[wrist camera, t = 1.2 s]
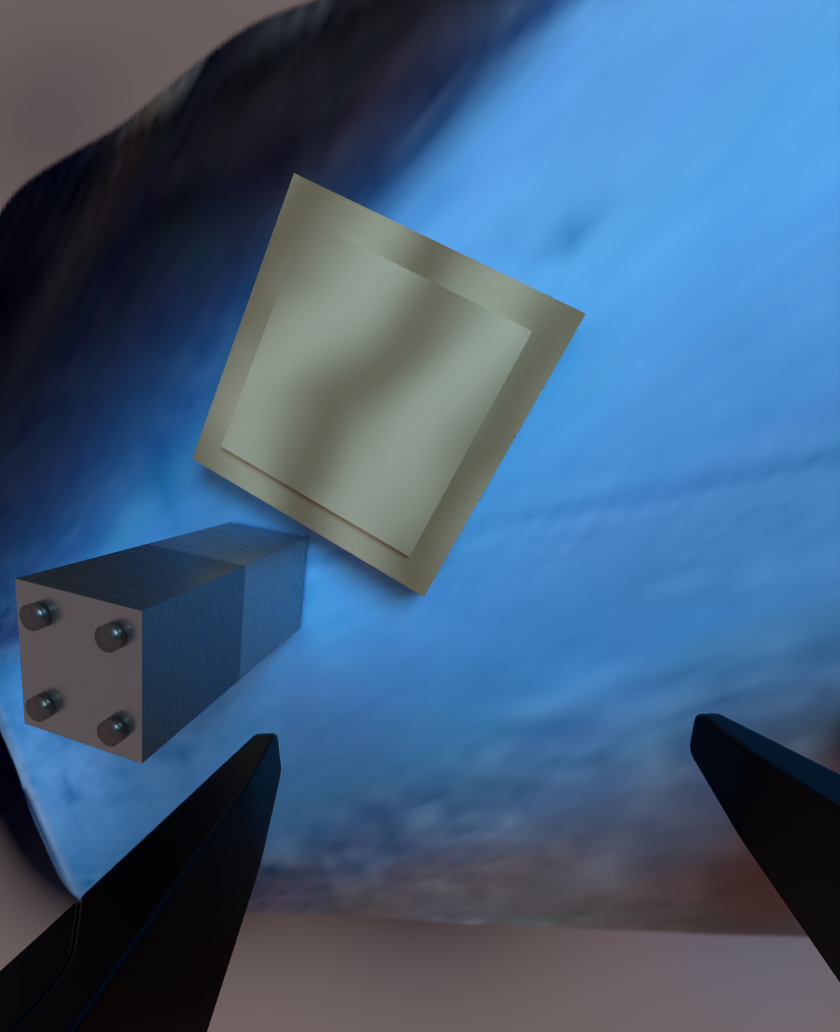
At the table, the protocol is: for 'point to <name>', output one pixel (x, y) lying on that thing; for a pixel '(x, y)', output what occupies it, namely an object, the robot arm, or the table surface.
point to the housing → (154, 633)
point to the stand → (377, 382)
